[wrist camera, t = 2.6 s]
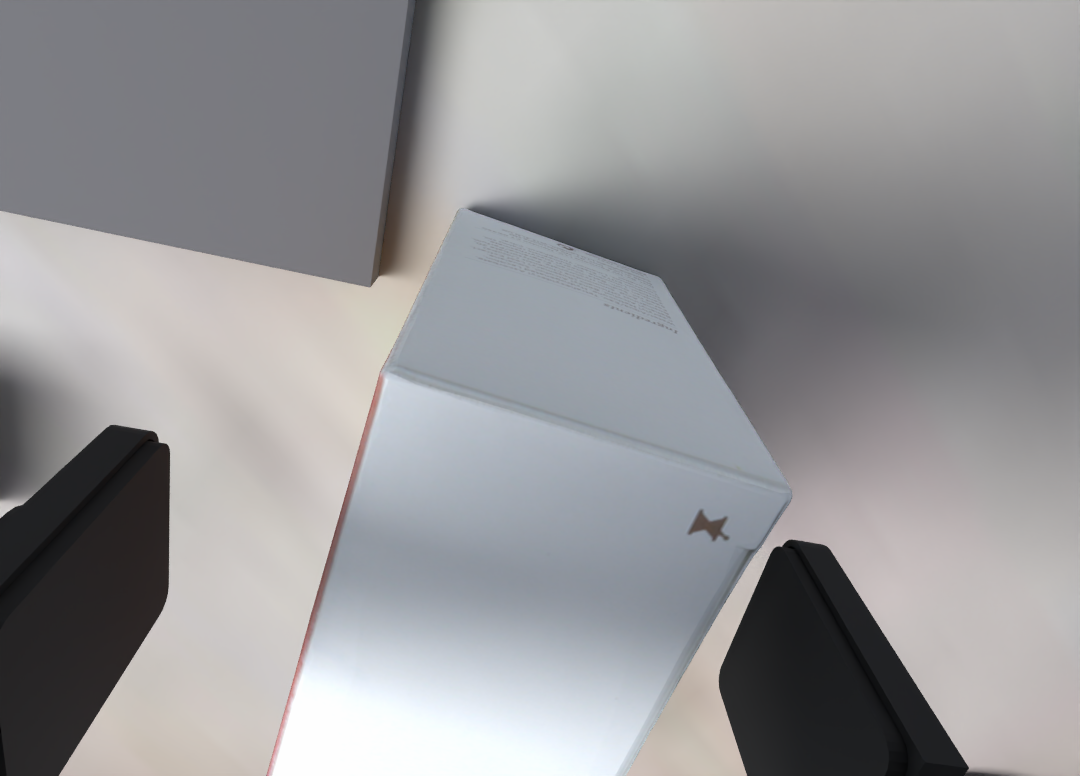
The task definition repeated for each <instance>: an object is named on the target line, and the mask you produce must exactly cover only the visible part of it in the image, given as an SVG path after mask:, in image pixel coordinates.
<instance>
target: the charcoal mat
mask: <svg viewBox="0 0 1080 776" xmlns="http://www.w3.org/2000/svg"><path fill="white" fill-rule="evenodd" d="M415 3H416V0H0V211H5V212H9V213H14V214H19V215H24V216H29V217H33V218H38V219H43V220H48V221H53V222H58V223H62V224H67V225H72V226H77V227H82V228H86V229H91V230H96V231H101V232H106V233H111V234H115V235H120V236H125V237H130V238H135V239H139V240H144V241H149V242H154V243H159V244H164V245H168V246H173V247H178V248H183V249H188V250H192V251H197V252H202V253H207V254H212V255H217V256H221V257H226V258H231V259H236V260H241V261H245V262H250V263H255V264H260V265H265V266H270V267H274V268H279V269H284V270H289V271H294V272H298V273H303V274H308V275H313V276H318V277H323V278H327V279H332V280H337V281H342V282H347V283H351V284H356V285H361V286H366V287H371V286H372V285H373V283H374V282H375V281H376V279H377V278H378V275H379V267H380V260H381V253H382V245H383V238H384V231H385V223H386V216H387V208H388V201H389V194H390V186H391V179H392V172H393V164H394V157H395V150H396V142H397V135H398V128H399V120H400V113H401V106H402V98H403V91H404V84H405V76H406V69H407V61H408V54H409V47H410V39H411V32H412V25H413V17H414V10H415Z"/></svg>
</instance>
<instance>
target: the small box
mask: <svg viewBox="0 0 1080 776" xmlns="http://www.w3.org/2000/svg"><path fill="white" fill-rule="evenodd" d="M791 499H792V490H791V488H790V486H789V484H788V482H787V480H786V479H785V477H784V476H783V474H782V473H781V471H780V469H779V468H778V466H777V465H776V463H775V462H774V460H773V458H772V457H771V455H770V453H769V451H768V450H767V448H766V447H765V445H764V443H763V442H762V440H761V439H760V437H759V436H758V434H757V432H756V431H755V429H754V427H753V426H752V424H751V422H750V421H749V419H748V417H747V416H746V414H745V413H744V411H743V410H742V408H741V406H740V405H739V403H738V402H737V400H736V398H735V397H734V395H733V393H732V392H731V390H730V389H729V387H728V386H727V384H726V383H725V381H724V379H723V378H722V376H721V375H720V374H719V372H718V370H717V369H716V367H715V365H714V364H713V362H712V360H711V359H710V357H709V356H708V354H707V352H706V351H705V349H704V347H703V345H702V344H701V343H700V341H699V340H698V338H697V336H696V335H695V333H694V331H693V330H692V328H691V326H690V325H689V323H688V322H687V320H686V318H685V317H684V315H683V313H682V312H681V310H680V309H679V307H678V306H677V304H676V302H675V300H674V299H673V297H672V296H671V294H670V292H669V291H668V289H667V287H666V286H665V284H664V282H663V281H662V279H661V278H660V277H658V276H655V275H652V274H649V273H646V272H643V271H640V270H637V269H634V268H631V267H629V266H626V265H623V264H620V263H617V262H615V261H612V260H609V259H606V258H603V257H600V256H598V255H595V254H592V253H589V252H586V251H583V250H581V249H578V248H575V247H572V246H569V245H567V244H564V243H561V242H558V241H555V240H553V239H550V238H547V237H544V236H541V235H539V234H536V233H533V232H530V231H527V230H524V229H521V228H519V227H516V226H513V225H510V224H507V223H504V222H501V221H498V220H496V219H493V218H490V217H487V216H484V215H481V214H478V213H475V212H473V211H470V210H468V209H464V208H461V209H459V210H458V211H457V214H456V216H455V218H454V220H453V222H452V224H451V226H450V228H449V230H448V232H447V234H446V236H445V238H444V240H443V242H442V245H441V247H440V249H439V251H438V253H437V255H436V257H435V259H434V261H433V263H432V266H431V268H430V270H429V272H428V274H427V276H426V278H425V281H424V283H423V285H422V287H421V289H420V291H419V293H418V295H417V298H416V300H415V302H414V304H413V306H412V308H411V311H410V313H409V315H408V317H407V319H406V321H405V323H404V325H403V327H402V330H401V332H400V334H399V336H398V338H397V340H396V342H395V344H394V346H393V348H392V350H391V352H390V354H389V356H388V358H387V360H386V361H385V363H384V365H383V367H382V369H381V371H380V374H379V378H378V382H377V386H376V389H375V393H374V396H373V400H372V403H371V407H370V410H369V414H368V417H367V421H366V424H365V428H364V431H363V435H362V438H361V442H360V446H359V449H358V453H357V456H356V460H355V463H354V467H353V470H352V474H351V477H350V481H349V484H348V488H347V491H346V495H345V498H344V502H343V505H342V509H341V512H340V516H339V519H338V523H337V526H336V530H335V533H334V537H333V540H332V544H331V547H330V551H329V554H328V558H327V561H326V564H325V568H324V571H323V575H322V578H321V582H320V585H319V589H318V592H317V596H316V599H315V603H314V606H313V610H312V613H311V617H310V620H309V624H308V628H307V631H306V635H305V639H304V643H303V646H302V650H301V654H300V657H299V661H298V665H297V668H296V672H295V676H294V679H293V683H292V686H291V690H290V694H289V697H288V701H287V704H286V708H285V711H284V715H283V719H282V722H281V726H280V729H279V733H278V736H277V740H276V744H275V747H274V751H273V754H272V758H271V762H270V765H269V768H268V772H267V775H266V776H626V775H627V773H628V771H629V769H630V767H631V766H632V764H633V762H634V760H635V759H636V757H637V755H638V753H639V751H640V749H641V747H642V746H643V744H644V742H645V741H646V739H647V737H648V735H649V733H650V731H651V730H652V728H653V726H654V725H655V723H656V722H657V720H658V718H659V716H660V714H661V712H662V711H663V709H664V707H665V705H666V704H667V702H668V700H669V699H670V697H671V695H672V693H673V691H674V690H675V688H676V686H677V684H678V682H679V681H680V679H681V677H682V675H683V674H684V672H685V670H686V669H687V667H688V665H689V664H690V662H691V660H692V658H693V657H694V655H695V653H696V651H697V650H698V648H699V646H700V644H701V643H702V641H703V639H704V637H705V636H706V634H707V632H708V631H709V629H710V628H711V626H712V624H713V622H714V620H715V619H716V617H717V615H718V613H719V612H720V610H721V608H722V607H723V605H724V603H725V602H726V600H727V598H728V597H729V595H730V594H731V592H732V590H733V589H734V587H735V585H736V584H737V582H738V580H739V579H740V577H741V575H742V574H743V572H744V571H745V569H746V567H747V566H748V564H749V563H750V561H751V559H752V558H753V556H754V555H755V554H756V553H757V551H758V550H759V549H760V548H761V546H762V545H763V543H764V541H765V540H766V538H767V537H768V535H769V533H770V532H771V530H772V529H773V527H774V525H775V524H776V522H777V521H778V519H779V518H780V516H781V515H782V513H783V512H784V511H785V509H786V508H787V506H788V504H789V503H790V501H791Z"/></svg>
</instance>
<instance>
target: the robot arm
mask: <svg viewBox="0 0 1080 776" xmlns="http://www.w3.org/2000/svg"><path fill="white" fill-rule="evenodd" d="M169 495H170V449H169V446H168V445H167V444H164V443H159V441H158V437H157V434H156V433H155V432H153V431H147V430H141V429H135V428H129V427H124V426H118V425H110V426H109V427H107V428H106V429H105V430H104V431H103V432H102V433H100V434H99V435H98V436H97V437H96V438H95V439H94V440H93V441H92V442H91V443H90V444H88V445H87V446H86V447H85V448H84V449H83V450H82V451H81V452H80V453H79V454H78V455H77V456H75V457H74V458H73V459H72V460H71V461H70V462H69V463H68V464H67V465H66V466H65V467H64V468H62V469H61V470H60V471H59V472H58V473H57V474H56V475H55V476H54V477H53V478H52V479H51V480H49V481H48V482H47V483H46V484H45V485H44V486H43V487H42V488H41V489H40V490H39V491H38V492H36V493H35V494H34V495H33V496H32V497H31V498H30V499H29V500H28V501H27V502H26V503H25V504H23V505H21V506H17V507H15V508H13V509H12V510H10V511H9V512H7V513H6V514H5V515H4V516H3V517H1V518H0V776H59V774H60V773H61V771H62V770H63V768H64V766H65V765H66V763H67V762H68V760H69V758H70V757H71V755H72V754H73V752H74V750H75V749H76V747H77V746H78V744H79V743H80V741H81V739H82V738H83V736H84V735H85V733H86V731H87V730H88V728H89V727H90V725H91V723H92V722H93V720H94V719H95V717H96V715H97V714H98V712H99V711H100V709H101V708H102V706H103V704H104V703H105V701H106V700H107V698H108V696H109V695H110V693H111V692H112V690H113V688H114V687H115V685H116V684H117V682H118V680H119V679H120V677H121V676H122V674H123V673H124V671H125V669H126V668H127V666H128V665H129V663H130V661H131V660H132V658H133V657H134V655H135V653H136V652H137V650H138V649H139V647H140V646H141V644H142V642H143V641H144V639H145V638H146V636H147V634H148V633H149V631H150V630H151V628H152V626H153V625H154V623H155V622H156V620H157V618H158V617H159V615H160V614H161V612H162V610H163V607H164V605H165V602H166V599H167V594H168V587H169ZM719 688H720V693H721V696H722V699H723V702H724V705H725V708H726V711H727V715H728V718H729V721H730V724H731V727H732V730H733V733H734V736H735V739H736V742H737V746H738V749H739V752H740V755H741V758H742V761H743V764H744V767H745V770H746V773H747V776H964V775H965V773H966V772H967V770H968V769H969V767H968V766H967V764H966V763H965V761H964V759H963V758H962V756H961V755H960V753H959V752H958V750H957V748H956V747H955V745H954V744H953V742H952V741H951V739H950V737H949V736H948V734H947V733H946V731H945V730H944V728H943V726H942V725H941V723H940V722H939V720H938V719H937V717H936V715H935V714H934V712H933V711H932V709H931V708H930V706H929V704H928V703H927V701H926V700H925V698H924V697H923V695H922V693H921V692H920V690H919V689H918V687H917V686H916V684H915V682H914V681H913V679H912V678H911V676H910V675H909V673H908V671H907V670H906V668H905V667H904V665H903V664H902V662H901V660H900V659H899V657H898V656H897V654H896V653H895V651H894V649H893V648H892V646H891V645H890V643H889V642H888V640H887V638H886V637H885V635H884V634H883V632H882V631H881V629H880V627H879V626H878V624H877V623H876V621H875V620H874V618H873V616H872V615H871V613H870V612H869V610H868V609H867V607H866V605H865V604H864V602H863V601H862V599H861V598H860V596H859V594H858V593H857V591H856V590H855V588H854V587H853V585H852V583H851V582H850V580H849V579H848V577H847V576H846V574H845V572H844V571H843V569H842V568H841V566H840V565H839V563H838V561H837V560H836V558H835V557H834V555H833V554H832V552H831V550H830V549H829V548H828V547H827V546H825V545H821V544H815V543H809V542H804V541H798V540H788V541H787V542H786V543H785V544H784V545H783V546H782V547H776V548H774V549H773V551H772V552H771V554H770V557H769V559H768V561H767V563H766V566H765V568H764V570H763V572H762V575H761V577H760V579H759V582H758V584H757V586H756V588H755V591H754V593H753V595H752V598H751V600H750V602H749V604H748V607H747V609H746V611H745V614H744V616H743V618H742V620H741V623H740V625H739V627H738V630H737V632H736V634H735V636H734V639H733V641H732V643H731V646H730V648H729V650H728V652H727V655H726V657H725V659H724V662H723V664H722V666H721V669H720V674H719Z"/></svg>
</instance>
